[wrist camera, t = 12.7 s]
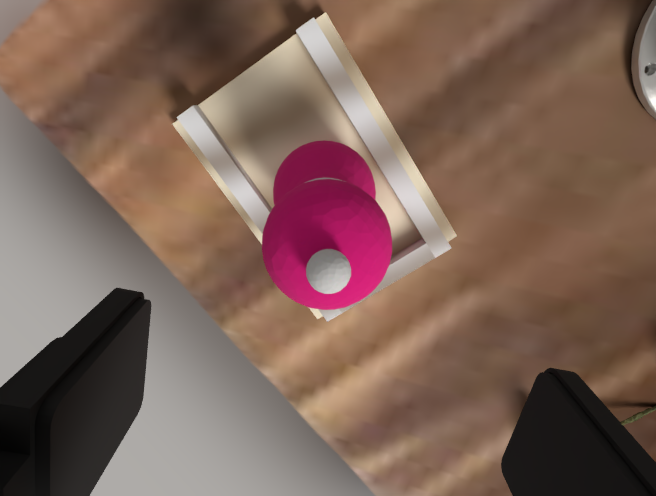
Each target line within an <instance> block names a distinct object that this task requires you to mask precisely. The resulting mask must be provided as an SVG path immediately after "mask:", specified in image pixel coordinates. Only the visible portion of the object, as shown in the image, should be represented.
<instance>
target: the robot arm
mask: <svg viewBox="0 0 656 496" xmlns="http://www.w3.org/2000/svg"><path fill="white" fill-rule="evenodd" d="M644 70H645V71H644ZM631 71H632V78H633V84H634V87H635V90H636V93H637V96H638V98H639V100H640V102H641V103H642V105H643V106H644V108H645V109H646V111H647V112H648V113H649V114H650V115H651V116H653V117H654V118H655V119H656V0H652V2H651V4H650V5H649V7H648V9H647V11H646V12H645V14H644V16H643V18H642V20H641V23H640V25H639V28H638V31H637V33H636V36H635V41H634V45H633V50H632V64H631ZM150 314H151V302H150V300H145V299H144V294H143V293H142V292H137V291H132V290H126V289H121V288H116V289H114V290H113V291H112V292H111V293H110V294H109V295H107V296H106V297H105V298H104V299H103V300H102V301H101V302H100V303H99V304H98V305H97V306H95V307H94V308H93V309H92V310H91V311H90V312H89V313H88V314H87V315H86V316H85V317H83V318H82V319H81V320H80V321H79V322H78V323H77V324H76V325H75V326H74V327H73V328H72V329H70V330H69V331H68V332H67V333H66V334H65V335H64V336H63V337H60V338H56V339H55V340H53V341H52V342H50V343H49V344H48V345H47V346H46V347H45V348H44V349H43V350H42V351H41V352H40V353H38V354H37V355H36V356H35V357H34V358H33V359H32V360H30V361H29V362H28V363H27V364H26V365H25V366H24V367H23V368H22V369H20V370H19V371H18V372H17V373H16V374H15V375H14V376H13V377H12V378H10V379H9V380H8V381H7V382H6V383H5V384H4V385H3V386H2V387H0V496H89V495H90V494H91V492H92V490H93V489H94V487H95V485H96V484H97V482H98V480H99V478H100V477H101V475H102V473H103V472H104V470H105V468H106V467H107V465H108V463H109V462H110V460H111V458H112V457H113V455H114V453H115V451H116V450H117V448H118V446H119V445H120V443H121V441H122V440H123V438H124V436H125V435H126V433H127V431H128V430H129V428H130V426H131V424H132V423H133V421H134V419H135V417H136V416H137V414H138V412H139V410H140V408H141V405H142V401H143V393H144V383H145V371H146V359H147V348H148V336H149V326H150ZM501 467H502V473H503V476H504V478H505V480H506V482H507V484H508V486H509V489H510V491H511V493H512V495H513V496H656V462H655V461H654V460H653V459H652V458H651V457H650V456H649V454H648V453H647V452H646V451H645V450H644V449H643V448H642V447H641V445H640V444H639V443H638V442H637V441H636V440H635V439H634V438H633V436H632V435H631V434H630V433H629V432H628V431H627V430H626V429H625V427H624V426H623V425H622V424H621V423H620V422H619V421H618V420H617V418H616V417H615V416H614V415H613V414H612V413H611V412H610V410H609V409H608V408H607V407H606V406H605V405H604V404H603V403H602V401H601V400H600V399H599V398H598V397H597V396H596V395H595V394H594V392H593V391H592V390H591V389H590V388H589V387H588V386H587V385H586V383H585V382H584V381H583V380H582V379H581V378H580V377H579V376H578V375H577V374H576V373H575V372H570V371H565V370H560V369H554V368H549V369H547V370H546V371H545V372H544V373H543V372H542V373H540V374H539V375H538V376H537V378H536V380H535V382H534V384H533V387H532V389H531V392H530V394H529V396H528V399H527V401H526V403H525V406H524V408H523V410H522V413H521V415H520V417H519V420H518V422H517V424H516V427H515V429H514V431H513V434H512V436H511V439H510V441H509V443H508V446H507V448H506V450H505V453H504V455H503V458H502V463H501Z"/></svg>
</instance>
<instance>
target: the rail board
mask: <svg viewBox="0 0 656 496" xmlns="http://www.w3.org/2000/svg"><path fill="white" fill-rule="evenodd" d="M177 119H178V120H177V121H176V122H174V123H173V126H174V127H175V128H176V130H177V131H178V132H179V134H180V135H181V136H182V138H183V139H184V140H185V142H186V143H187V144H188V146H189V147H190V149H191V150H192V151H193V153H194V154H195V155H196V157H197V158H198V159H199V161H200V162H201V163H202V165H203V166H204V167H205V169H206V170H207V171H208V173H209V174H210V175H211V177H212V178H213V179H214V181H215V182H216V183H217V185H218V186H219V187H220V189H221V190H222V192H223V193H224V194H225V196H226V197H227V198H228V200H229V201H230V202H231V204H232V205H233V206H234V208H235V209H236V210H237V212H238V213H239V214H240V216H241V217H242V218H243V220H244V221H245V222H246V224H247V225H248V226H249V228H250V229H251V230H252V232H253V233H254V235H255V236H256V237H257V239H258V240H259V241H260V243H261V244H262V235H263V229H264V227H265V224H266V221H267V218H268V215H269V214H270V212H271V210H272V209H273V207H274V206H275V205H274V202H273V187H274V180H275V176H276V174H277V171H278V169H279V167H280V165H281V163H282V162H283V161H284V159H285V158H286V157H287V156H288V155H289V154H290V153H291V152H292V151H294V150H295V149H297V148H298V147H300V146H302V145H304V144H307V143H310V142H314V141H323V140H326V141H334V142H338V143H342V144H344V145H346V146H349V147H350V148H352V149H353V150H355V151H356V152H357V153H358V154H359V155H360V156H361V157H362V158H363V159H364V160H365V161H366V163H367V164H368V166H369V168H370V170H371V172H372V175H373V179H374V182H375V189H376V198H375V201H376V202H377V203H378V204H379V206H380V207H381V209H382V210H383V212H384V213H385V215H386V217H387V220H388V223H389V226H390V229H391V236H392V255H391V260H390V264H389V267H388V269H387V272H386V274H385V276H384V278H383V279H382V281H381V282H380V283H379V285H378V286H377V287H376V288H375V289H374V290H373V291H372V292H371V293H370V294H369V295H368V296H367V297H365V298H363V299H362V300H360V301H358V302H356V303H354V304H352V305H350V306H347V307H344V308H340V309H335V310H321V309H314V308H310V307H309V308H310V310H311V311H312V312H313V314H314V315H315V316H316V318H317V319H319V318H321V317H322V316H323V317H324V318H325V319H326V321H327V322H328V321H330V320H331V319H333V318H335V317H336V316H338V315H340V314H341V313H343V312H345V311H346V310H348V309H350V308H351V307H353V306H355V305H357V304H358V303H360V302H362V301H363V300H365V299H367V298H368V297H370V296H372V295H373V294H375V293H377V292H378V291H380V290H382V289H384V288H385V287H387V286H389V285H390V284H392V283H394V282H395V281H397V280H399V279H400V278H402V277H404V276H405V275H407V274H409V273H411V272H412V271H414V270H416V269H417V268H419V267H421V266H422V265H424V264H426V263H427V262H429V261H431V260H432V259H434V258H436V257H438V256H439V255H441V254H443V253H444V252H446V251H448V250H449V249H451V246H450V245H449V243H448V241H450V240H451V239H453V238H455V237H456V236H457V235H456V233H455V232H454V230H453V228H452V227H451V225H450V223H449V221H448V220H447V218H446V216H445V215H444V213H443V211H442V209H441V208H440V206H439V204H438V203H437V201H436V199H435V198H434V196H433V194H432V192H431V191H430V189H429V187H428V186H427V184H426V182H425V180H424V179H423V177H422V175H421V174H420V172H419V170H418V169H417V167H416V165H415V163H414V162H413V160H412V158H411V157H410V155H409V153H408V152H407V150H406V148H405V146H404V145H403V143H402V141H401V140H400V138H399V136H398V134H397V133H396V131H395V129H394V128H393V126H392V124H391V123H390V121H389V119H388V117H387V116H386V114H385V112H384V111H383V109H382V107H381V105H380V104H379V102H378V100H377V99H376V97H375V95H374V94H373V92H372V90H371V88H370V87H369V85H368V83H367V82H366V80H365V78H364V77H363V75H362V73H361V71H360V70H359V68H358V66H357V65H356V63H355V61H354V59H353V58H352V56H351V54H350V53H349V51H348V49H347V48H346V46H345V44H344V42H343V41H342V39H341V37H340V36H339V34H338V32H337V31H336V29H335V27H334V25H333V24H332V22H331V20H330V19H329V17H328V15H327V13H326V12H325V13H324V14H322V15H321V16H320V17H318V18H317V19H316V20H315V18H314V17H313V18H312V19H310V20H309V21H308V22H306V23H305V24H304V25H302V26H301V27H299V28H298V29H297V30H296V34H295V35H294V36H292V37H291V38H289V39H288V40H287V41H285V42H284V43H283V44H281V45H280V46H278V47H277V48H276V49H274V50H273V51H272V52H270V53H269V54H268V55H266V56H265V57H263V58H262V59H261V60H259V61H258V62H257V63H255V64H254V65H252V66H251V67H250V68H248V69H247V70H246V71H244V72H243V73H241V74H240V75H239V76H237V77H236V78H235V79H233V80H232V81H231V82H229V83H228V84H226V85H225V86H224V87H222V88H221V89H220V90H218V91H217V92H215V93H214V94H213V95H211V96H210V97H209V98H207V99H206V100H204V101H203V102H202V103H200V104H199V105H193V106H191V107H190V108H189V109H187V110H186V111H185V112H183V113H182V114H180V115H179V116H178V117H177Z"/></svg>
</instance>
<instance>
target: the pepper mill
mask: <svg viewBox="0 0 656 496" xmlns="http://www.w3.org/2000/svg"><path fill="white" fill-rule="evenodd" d="M375 198H376V189H375V182H374V179H373V175H372V172H371V170H370V168H369V166H368V164H367V163H366V161H365V160H364V159H363V158H362V157H361V156H360V155H359V154H358V153H357V152H356V151H355V150H353V149H352V148H350V147H349V146H346V145H344V144H342V143H338V142H334V141H326V140H323V141H314V142H310V143H307V144H304V145H302V146H300V147H298V148H297V149H295V150H294V151H292V152H291V153H290V154H289V155H288V156H287V157H286V158H285V159H284V161H283V162H282V163H281V165H280V167H279V169H278V171H277V174H276V176H275V180H274V187H273V202H274V205H275V206H274V207H273V209H272V210H271V212H270V214H269V215H268V218H267V221H266V224H265V227H264V229H263V235H262V252H263V260H264V263H265V266H266V269H267V271H268V273H269V275H270V277H271V279H272V280H273V282H274V283H275V284H276V285H277V287H278V288H279V289H280V290H281V291H282V292H283V293H284V294H285V295H287V296H288V297H289V298H291V299H292V300H294V301H295V302H297V303H300V304H302V305H305V306H307V307H310V308H314V309H321V310H335V309H340V308H344V307H347V306H350V305H352V304H354V303H356V302H358V301H360V300H362V299H363V298H365V297H367V296H368V295H369V294H370V293H371V292H372V291H373V290H374V289H375V288H376V287H377V286H378V285H379V283H380V282H381V281H382V279H383V278H384V276H385V274H386V272H387V269H388V267H389V264H390V260H391V255H392V236H391V229H390V226H389V223H388V220H387V217H386V215H385V213H384V212H383V210H382V209H381V207H380V206H379V204H378V203H377V202H376V201H375Z"/></svg>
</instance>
